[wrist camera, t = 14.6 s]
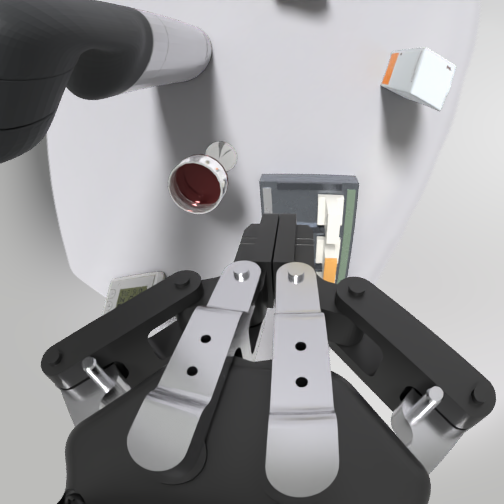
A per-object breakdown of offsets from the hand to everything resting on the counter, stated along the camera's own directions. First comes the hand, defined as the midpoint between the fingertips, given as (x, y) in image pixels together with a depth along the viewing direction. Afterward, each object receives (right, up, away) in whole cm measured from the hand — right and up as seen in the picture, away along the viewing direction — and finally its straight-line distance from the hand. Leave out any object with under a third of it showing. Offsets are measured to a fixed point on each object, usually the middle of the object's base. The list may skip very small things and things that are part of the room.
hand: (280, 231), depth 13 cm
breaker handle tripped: (+11, 0, +31) cm, 32 cm away
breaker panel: (+8, +2, +34) cm, 35 cm away
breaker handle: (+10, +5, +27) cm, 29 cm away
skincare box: (+19, +23, +16) cm, 34 cm away
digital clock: (-26, -8, +48) cm, 55 cm away
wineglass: (-6, +13, +28) cm, 32 cm away
